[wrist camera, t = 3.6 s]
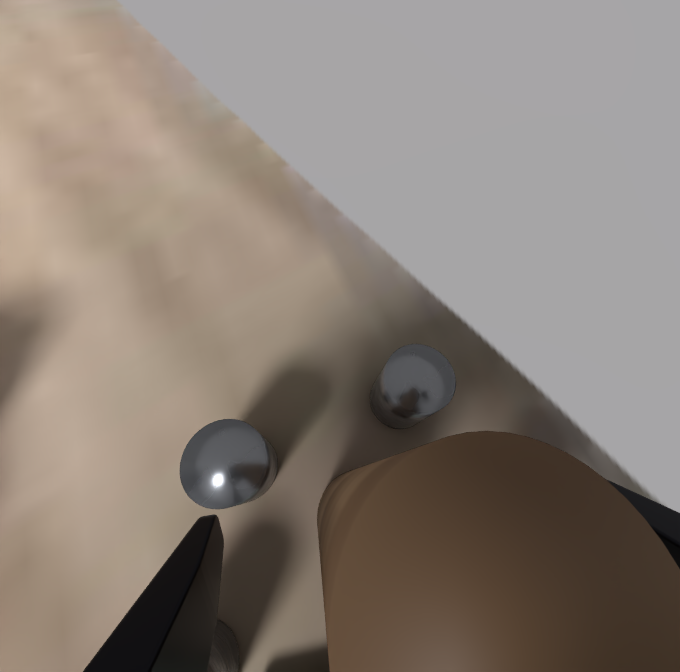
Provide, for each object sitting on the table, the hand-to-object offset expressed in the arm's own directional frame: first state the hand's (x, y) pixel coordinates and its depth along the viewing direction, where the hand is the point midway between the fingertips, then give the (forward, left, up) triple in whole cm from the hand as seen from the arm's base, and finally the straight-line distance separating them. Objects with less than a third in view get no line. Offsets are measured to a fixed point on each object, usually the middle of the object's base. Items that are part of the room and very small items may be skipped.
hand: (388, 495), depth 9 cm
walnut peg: (-1, +1, -7) cm, 7 cm away
